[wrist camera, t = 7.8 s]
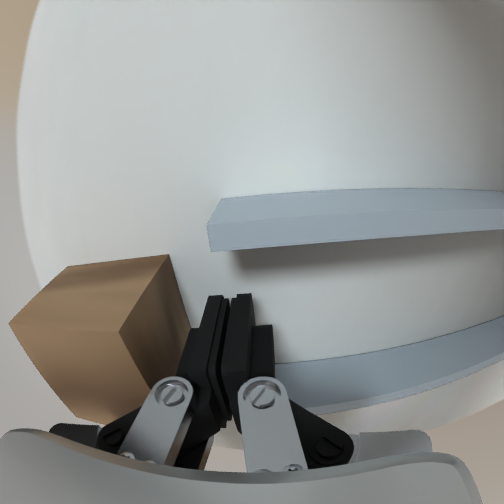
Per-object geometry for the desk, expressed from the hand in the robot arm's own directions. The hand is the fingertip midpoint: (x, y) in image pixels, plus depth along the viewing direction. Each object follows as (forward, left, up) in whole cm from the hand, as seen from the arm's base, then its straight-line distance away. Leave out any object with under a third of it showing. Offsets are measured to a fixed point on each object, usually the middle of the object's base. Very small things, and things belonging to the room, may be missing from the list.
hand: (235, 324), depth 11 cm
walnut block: (0, -6, -1) cm, 6 cm away
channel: (0, +14, -1) cm, 14 cm away
